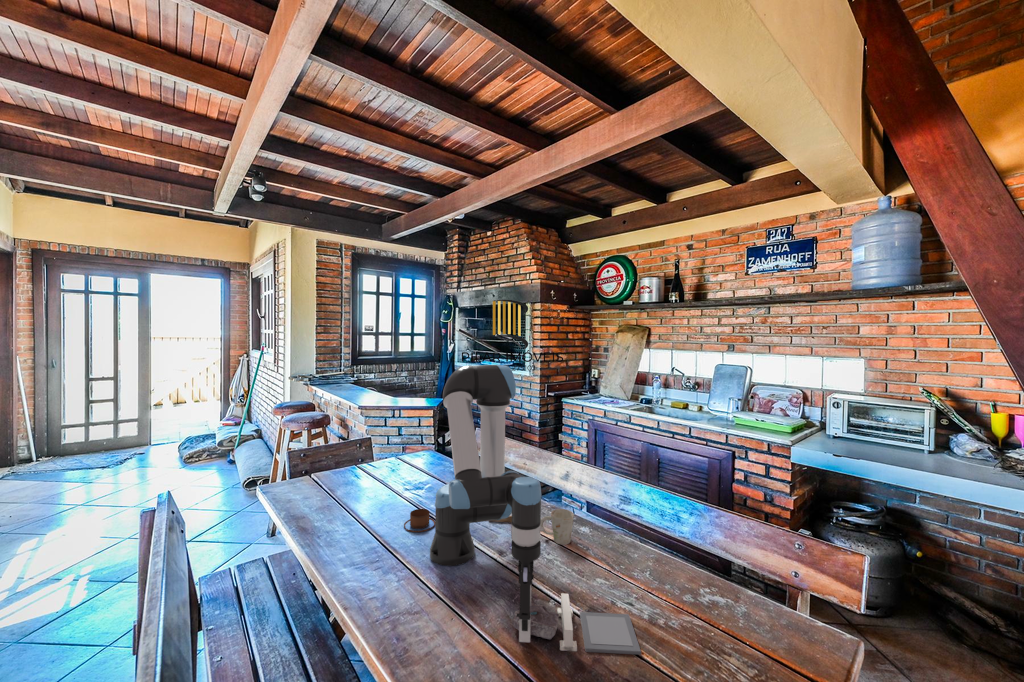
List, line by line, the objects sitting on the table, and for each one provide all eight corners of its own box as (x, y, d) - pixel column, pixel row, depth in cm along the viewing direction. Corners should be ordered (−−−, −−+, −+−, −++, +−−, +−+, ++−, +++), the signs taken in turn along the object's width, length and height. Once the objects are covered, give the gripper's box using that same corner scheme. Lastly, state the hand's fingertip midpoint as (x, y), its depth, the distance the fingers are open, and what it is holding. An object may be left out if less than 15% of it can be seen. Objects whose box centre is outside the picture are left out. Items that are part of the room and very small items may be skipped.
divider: (560, 650, 99) (560, 629, 98) (557, 611, 113) (557, 593, 112) (576, 651, 98) (577, 630, 98) (572, 612, 112) (572, 593, 112)
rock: (515, 614, 110) (516, 597, 110) (558, 622, 108) (559, 604, 108) (510, 635, 102) (512, 616, 102) (556, 644, 100) (558, 624, 100)
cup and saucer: (397, 532, 158) (397, 516, 157) (416, 519, 169) (416, 504, 169) (423, 538, 153) (423, 521, 153) (441, 524, 164) (441, 509, 164)
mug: (572, 547, 147) (573, 519, 146) (537, 543, 149) (538, 516, 149) (574, 536, 155) (574, 510, 155) (540, 533, 157) (541, 507, 157)
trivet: (585, 651, 98) (585, 648, 98) (579, 614, 111) (579, 611, 111) (640, 654, 97) (641, 650, 97) (628, 617, 110) (628, 613, 110)
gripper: (541, 567, 94) (540, 660, 94) (540, 519, 119) (539, 592, 119) (508, 566, 94) (507, 658, 94) (514, 518, 119) (513, 591, 119)
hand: (525, 621), depth 107 cm, fingers open, 13 cm apart
